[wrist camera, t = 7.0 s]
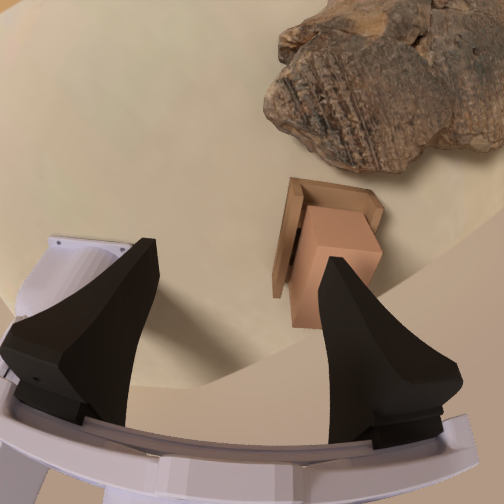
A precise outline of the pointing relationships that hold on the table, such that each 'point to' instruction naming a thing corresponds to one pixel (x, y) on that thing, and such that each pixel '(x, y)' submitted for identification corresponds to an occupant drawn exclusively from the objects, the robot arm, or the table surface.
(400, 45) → the rough brown rock
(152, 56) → the table surface
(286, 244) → the rack
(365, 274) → the clay bar
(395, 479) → the robot arm
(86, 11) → the table surface
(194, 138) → the table surface
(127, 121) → the table surface
